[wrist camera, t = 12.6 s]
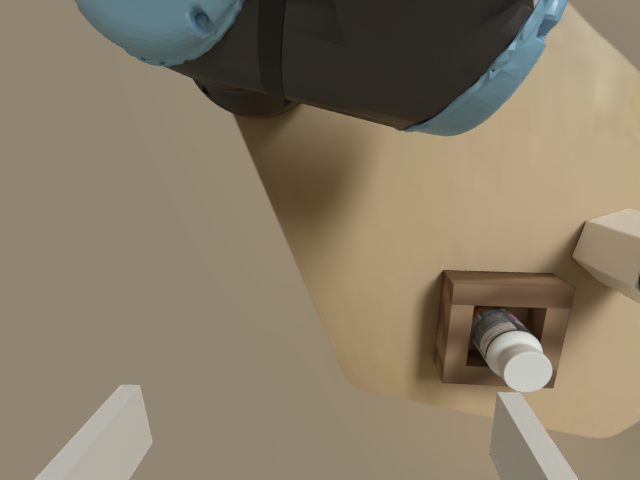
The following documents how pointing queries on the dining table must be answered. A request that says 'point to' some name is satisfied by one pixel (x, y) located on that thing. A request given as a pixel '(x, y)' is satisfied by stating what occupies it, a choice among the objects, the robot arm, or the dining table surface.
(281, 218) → the dining table surface
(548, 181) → the dining table surface
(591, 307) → the dining table surface
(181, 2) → the robot arm
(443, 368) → the socket block
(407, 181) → the dining table surface
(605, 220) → the jar
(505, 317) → the pill bottle
